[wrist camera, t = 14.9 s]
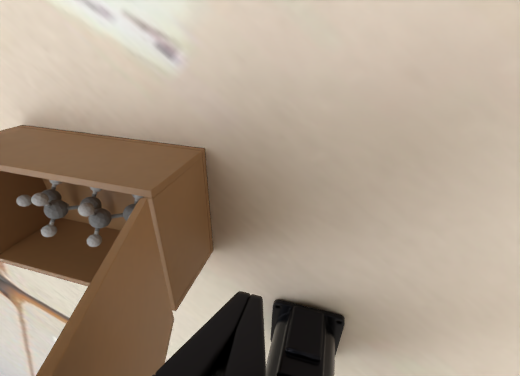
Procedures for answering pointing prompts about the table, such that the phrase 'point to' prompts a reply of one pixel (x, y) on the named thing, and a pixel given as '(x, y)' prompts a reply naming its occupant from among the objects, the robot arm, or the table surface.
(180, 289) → the carton
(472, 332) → the table surface
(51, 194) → the molecular model
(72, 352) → the carton flap
